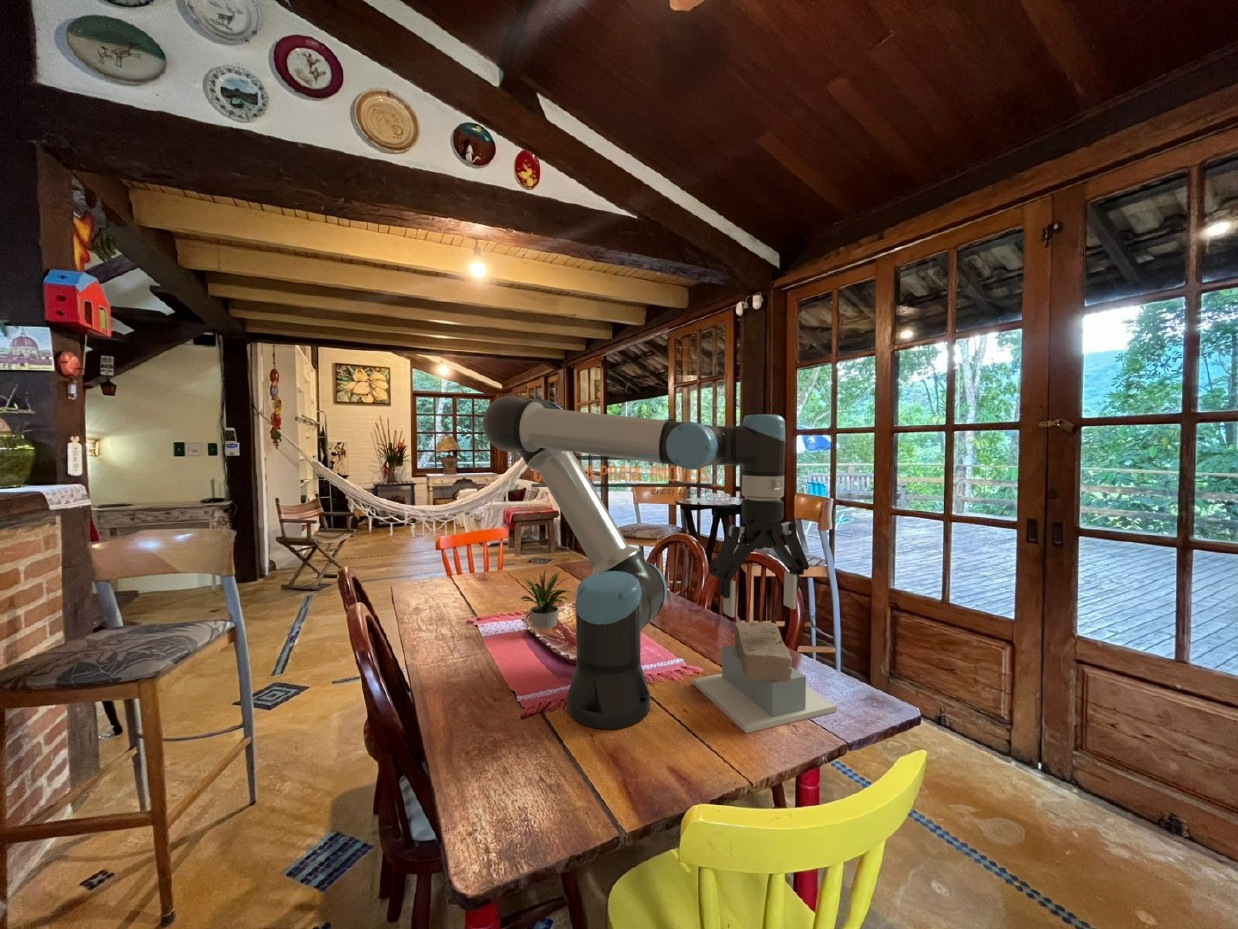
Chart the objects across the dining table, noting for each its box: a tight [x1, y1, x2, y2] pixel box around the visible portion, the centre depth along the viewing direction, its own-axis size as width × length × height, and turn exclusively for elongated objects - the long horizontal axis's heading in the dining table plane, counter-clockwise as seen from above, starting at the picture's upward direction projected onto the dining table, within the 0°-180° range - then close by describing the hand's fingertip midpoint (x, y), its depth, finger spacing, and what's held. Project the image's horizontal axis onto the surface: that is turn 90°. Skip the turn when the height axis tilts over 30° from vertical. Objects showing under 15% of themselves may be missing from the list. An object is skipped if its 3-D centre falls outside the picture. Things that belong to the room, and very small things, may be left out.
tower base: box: [692, 644, 838, 734], centre depth 94 cm, size 19×18×7 cm
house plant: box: [517, 568, 571, 629], centre depth 124 cm, size 14×14×16 cm
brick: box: [734, 621, 793, 682], centre depth 94 cm, size 17×8×5 cm, turn 173°
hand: (760, 611), depth 93 cm, fingers open, 13 cm apart
